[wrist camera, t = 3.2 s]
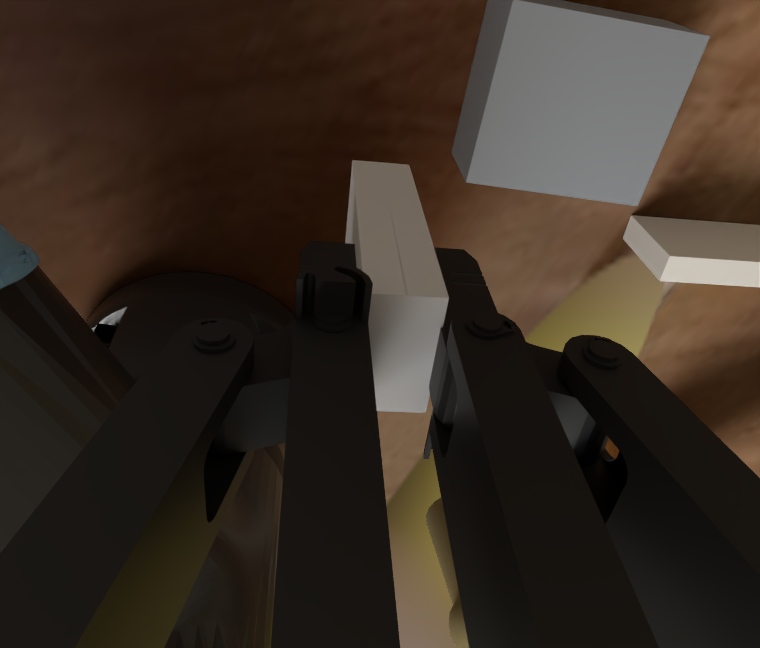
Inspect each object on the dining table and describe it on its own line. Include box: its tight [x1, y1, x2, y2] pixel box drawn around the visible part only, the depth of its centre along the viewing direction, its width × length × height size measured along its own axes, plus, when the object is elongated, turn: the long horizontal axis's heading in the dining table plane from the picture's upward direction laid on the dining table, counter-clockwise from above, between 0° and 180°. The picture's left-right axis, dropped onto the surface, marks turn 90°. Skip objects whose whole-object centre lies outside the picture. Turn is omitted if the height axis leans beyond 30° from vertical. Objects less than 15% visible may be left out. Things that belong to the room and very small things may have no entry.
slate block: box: [451, 0, 710, 206], centre depth 30 cm, size 9×8×4 cm
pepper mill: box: [426, 498, 469, 648], centre depth 46 cm, size 6×6×11 cm
